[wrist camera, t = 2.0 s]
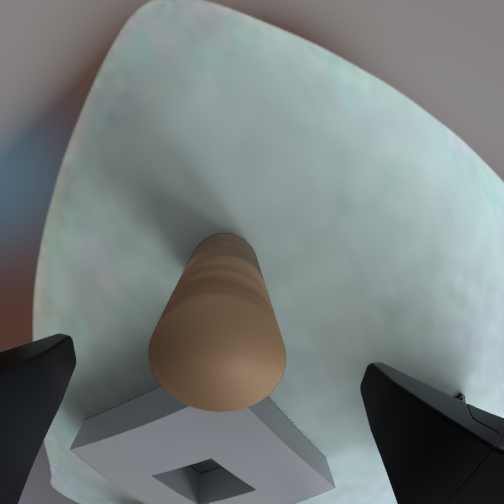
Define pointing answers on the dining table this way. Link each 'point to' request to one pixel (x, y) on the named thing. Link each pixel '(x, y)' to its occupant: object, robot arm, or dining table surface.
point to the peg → (219, 331)
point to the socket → (202, 453)
